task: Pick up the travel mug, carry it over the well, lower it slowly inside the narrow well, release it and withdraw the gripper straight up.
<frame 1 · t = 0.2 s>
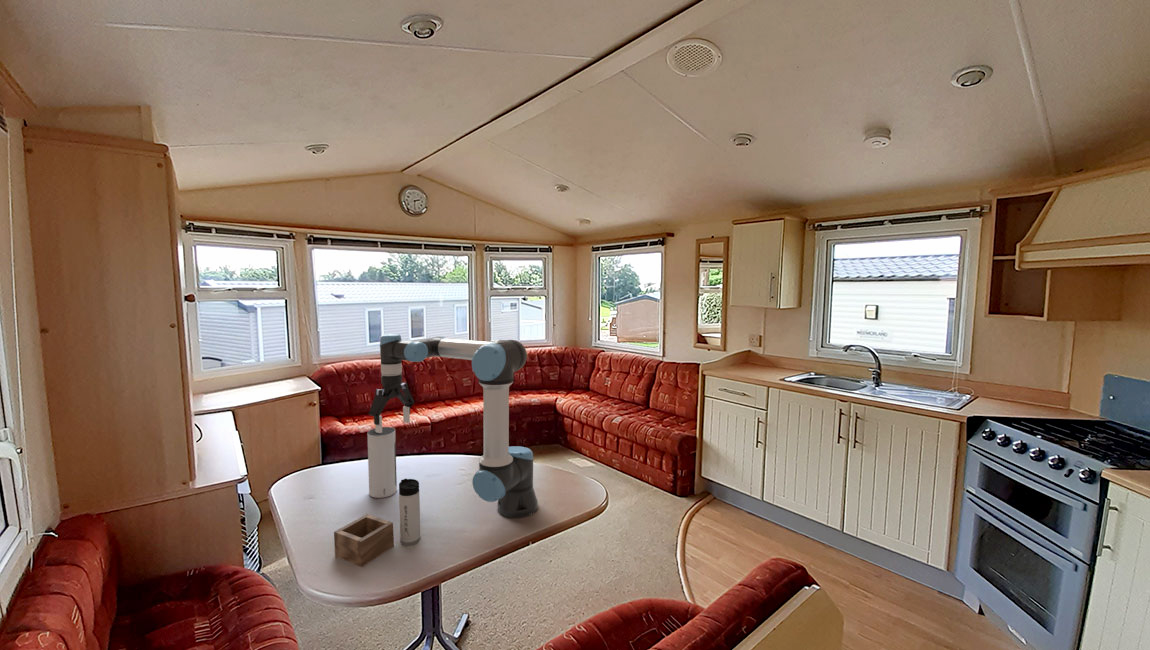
hand: (393, 427, 178), 28 cm above the table, fingers open, 13 cm apart
speaker: (383, 493, 183), on the table
well: (365, 551, 143), on the table
travel mug: (410, 540, 150), on the table
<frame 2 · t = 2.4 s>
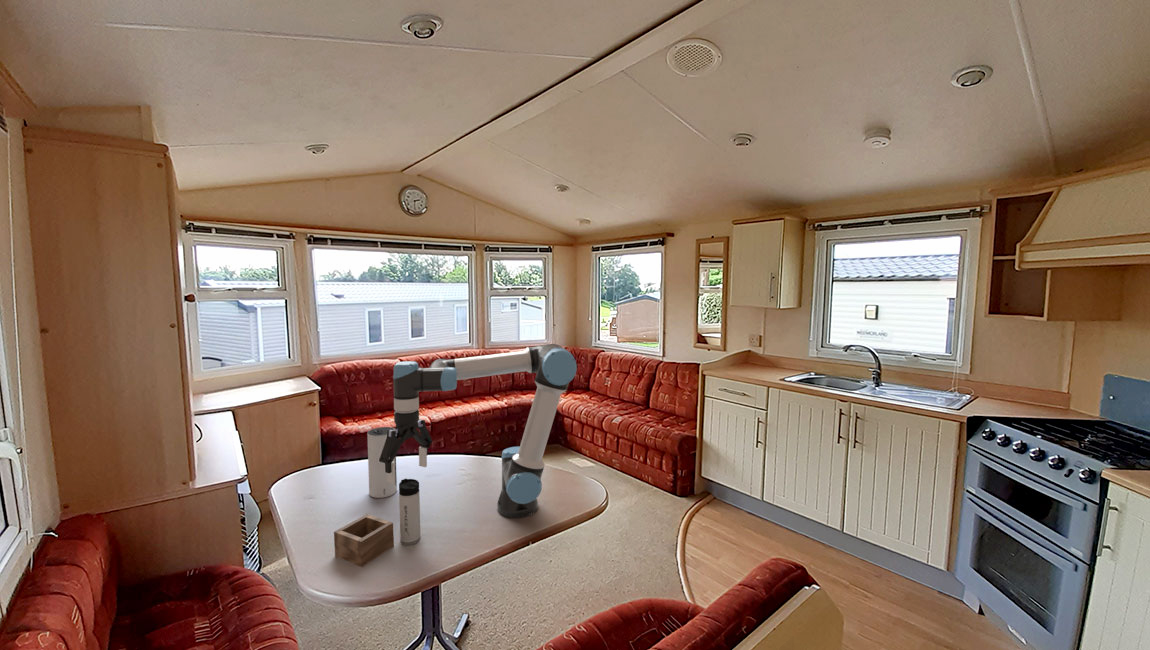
hand: (407, 473, 148), 23 cm above the table, fingers open, 13 cm apart
nothing on the table moved.
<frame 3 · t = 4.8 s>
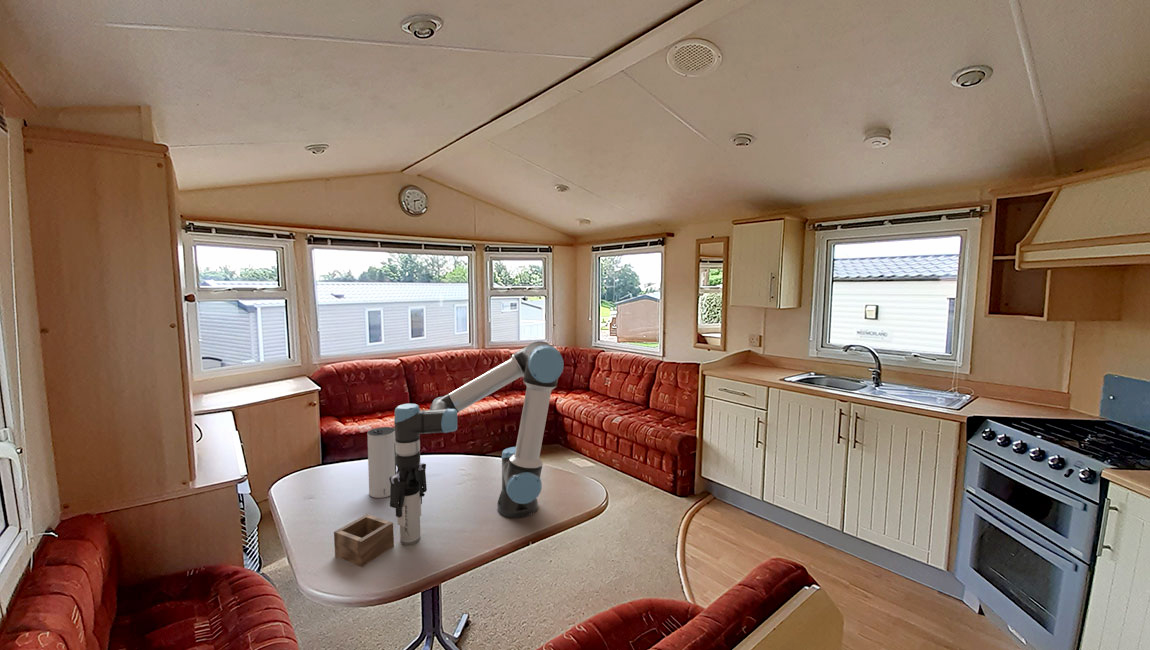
hand: (409, 519, 149), 7 cm above the table, fingers closed on travel mug, 6 cm apart
travel mug: (410, 540, 150), on the table, touching gripper
everything else where it was.
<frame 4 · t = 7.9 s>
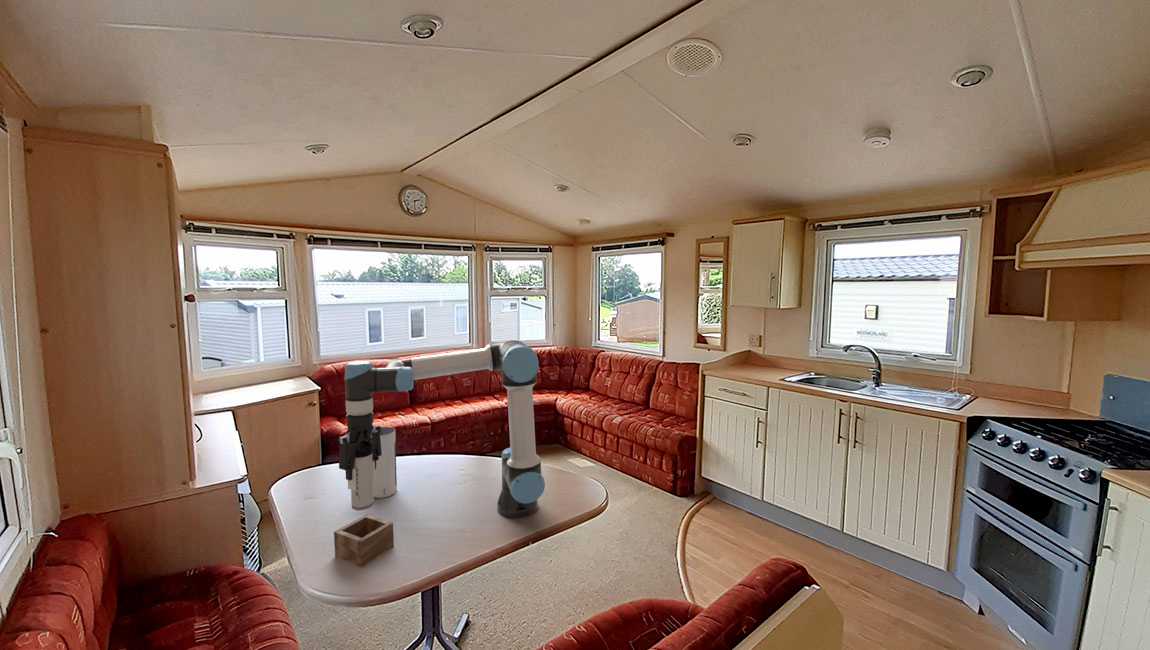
hand: (361, 484, 141), 22 cm above the table, fingers closed on travel mug, 6 cm apart
travel mug: (362, 506, 142), point 15 cm above the table, touching gripper
everything else where it was.
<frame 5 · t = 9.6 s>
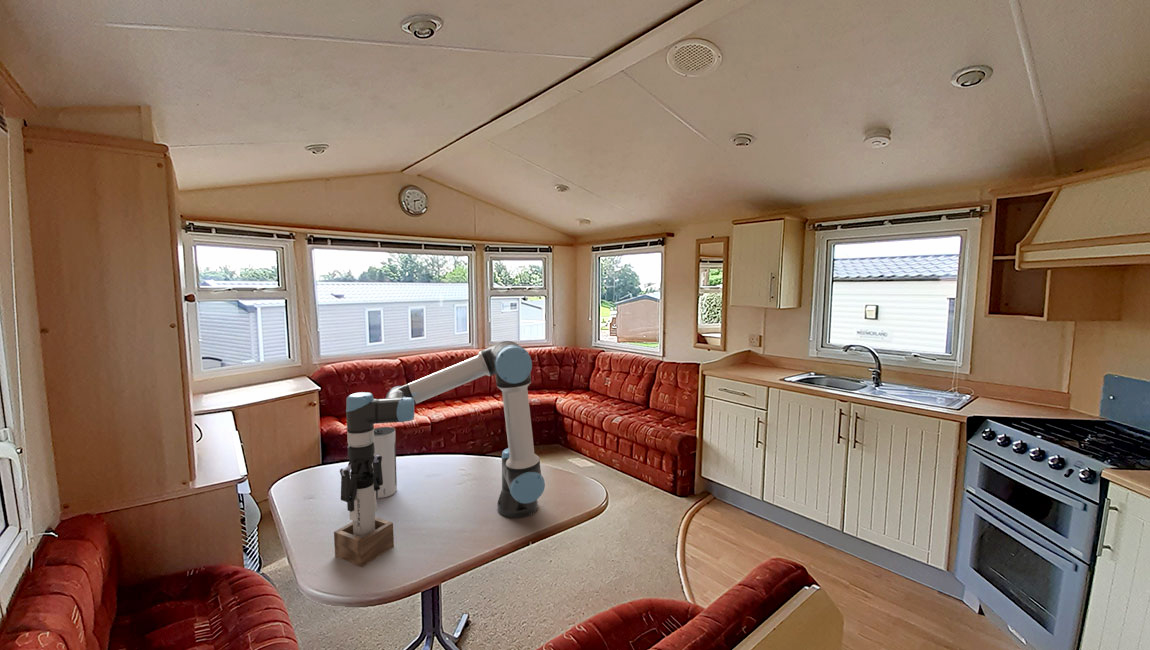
hand: (363, 514, 142), 12 cm above the table, fingers closed on travel mug, 6 cm apart
travel mug: (364, 535, 143), point 5 cm above the table, touching gripper
everything else where it was.
when the fingers open (10 cm above the table, at t = 11.1 s): travel mug drops 2 cm, resting on well.
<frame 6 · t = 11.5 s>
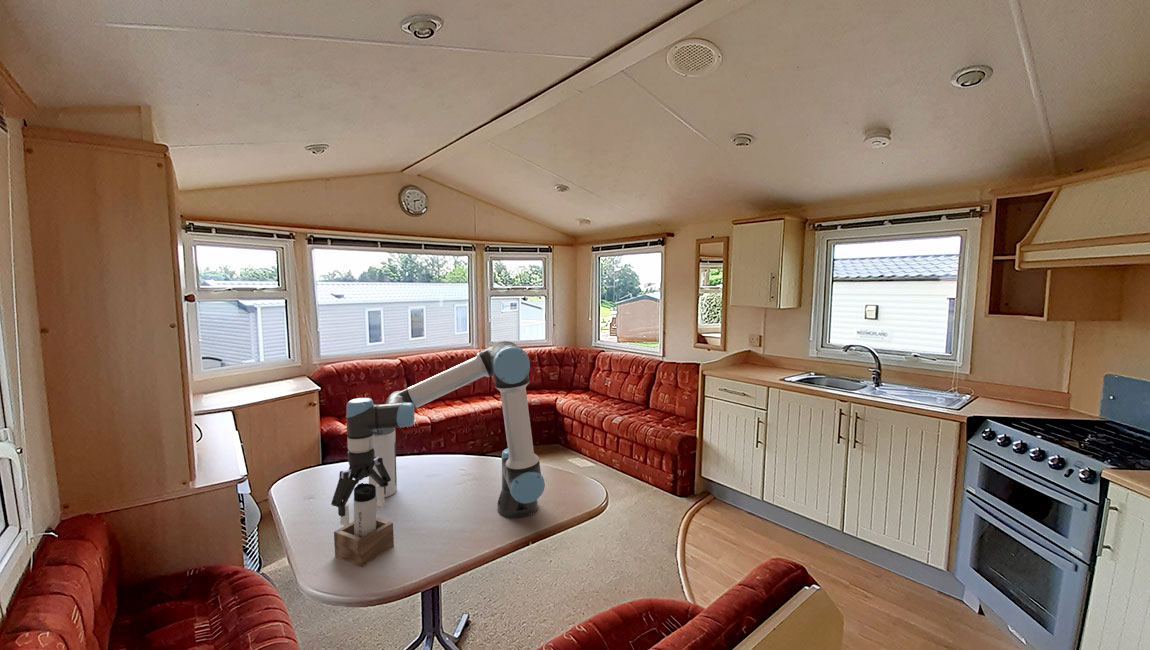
hand: (363, 514, 142), 12 cm above the table, fingers open, 12 cm apart
travel mug: (365, 547, 143), point 1 cm above the table, touching well
everything else where it was.
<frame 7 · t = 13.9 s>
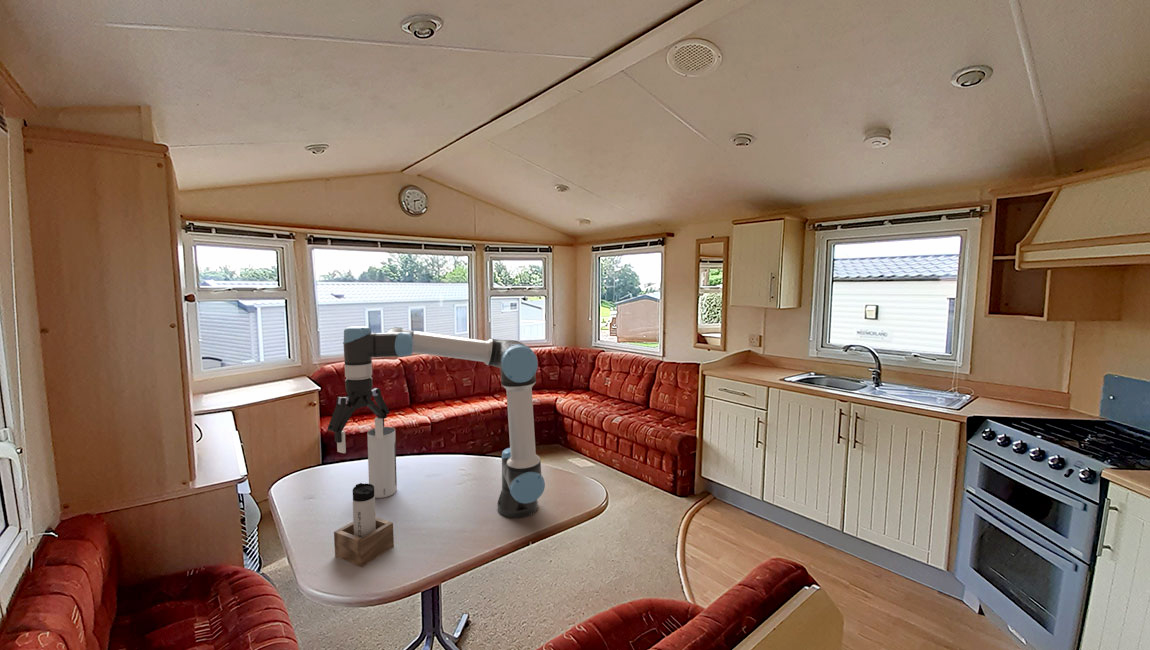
hand: (361, 444, 140), 35 cm above the table, fingers open, 13 cm apart
nothing on the table moved.
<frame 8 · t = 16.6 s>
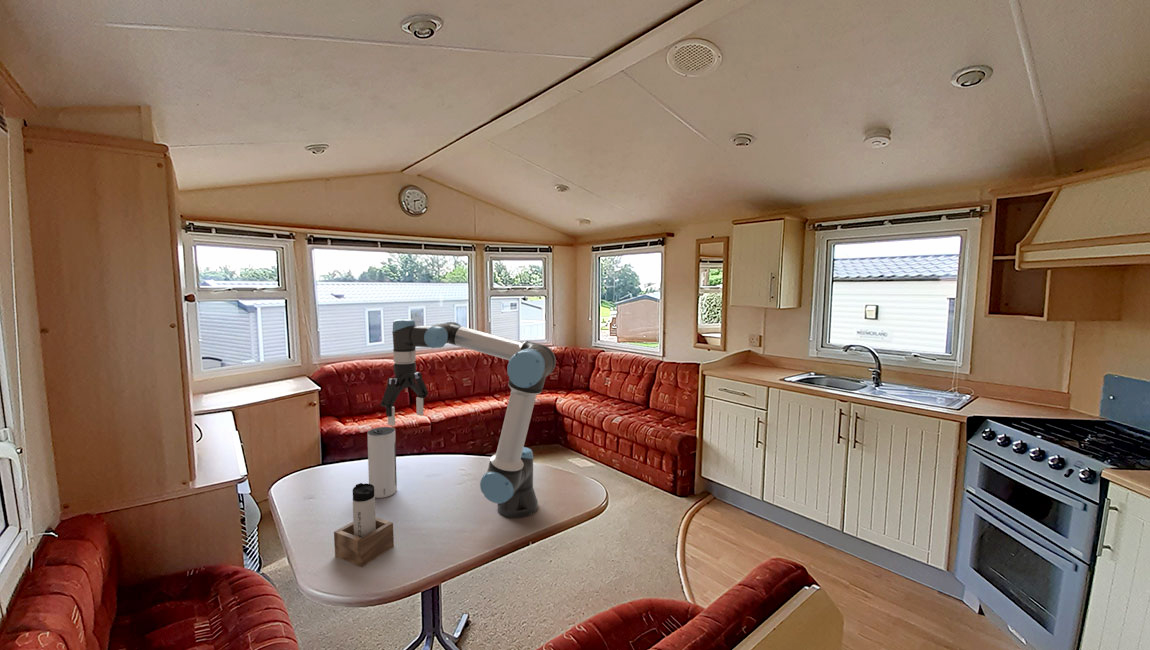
hand: (406, 419, 165), 35 cm above the table, fingers open, 13 cm apart
nothing on the table moved.
at the end: travel mug 0.1 cm off-centre on the well, point 1.0 cm above the well's base; travel mug tilted 0°; the gripper is holding nothing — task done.
